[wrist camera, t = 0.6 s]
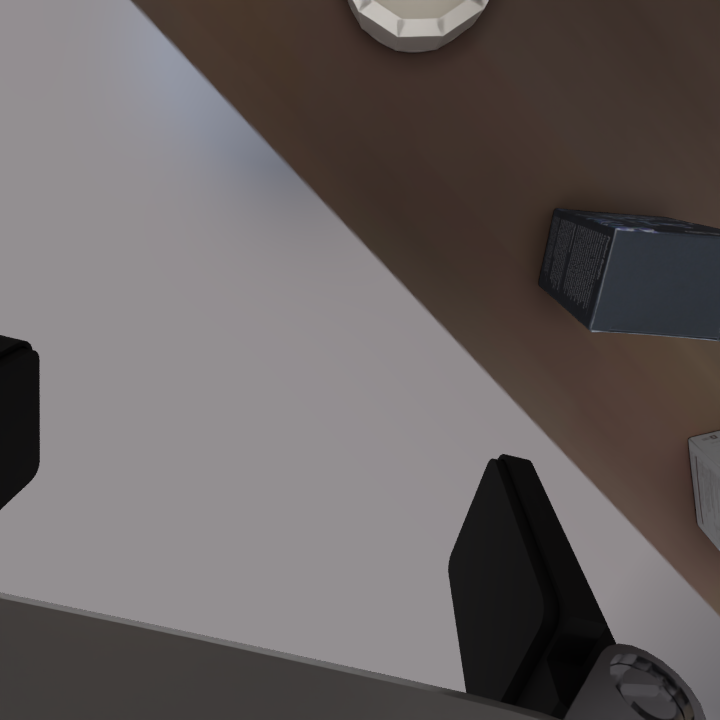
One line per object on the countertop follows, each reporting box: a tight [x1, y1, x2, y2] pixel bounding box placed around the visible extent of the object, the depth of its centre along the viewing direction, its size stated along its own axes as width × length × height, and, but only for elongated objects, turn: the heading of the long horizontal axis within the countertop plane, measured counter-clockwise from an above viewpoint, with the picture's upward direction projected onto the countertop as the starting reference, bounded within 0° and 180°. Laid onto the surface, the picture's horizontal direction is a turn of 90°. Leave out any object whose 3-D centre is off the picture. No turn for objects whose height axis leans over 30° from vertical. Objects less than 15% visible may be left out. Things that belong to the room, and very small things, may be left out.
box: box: [539, 208, 720, 341], centre depth 31 cm, size 8×6×11 cm
